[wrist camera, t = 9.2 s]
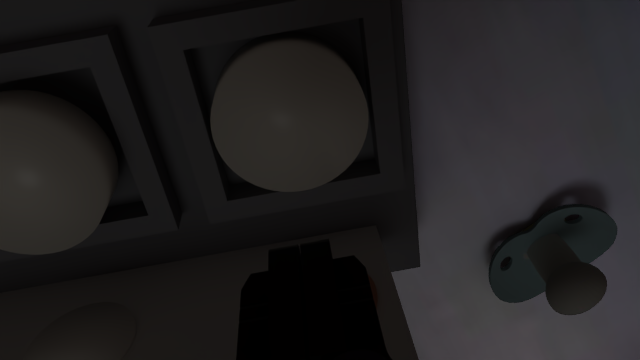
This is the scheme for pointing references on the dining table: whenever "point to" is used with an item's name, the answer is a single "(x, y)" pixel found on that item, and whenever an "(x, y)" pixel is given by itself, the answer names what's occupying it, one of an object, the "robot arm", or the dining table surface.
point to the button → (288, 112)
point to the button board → (197, 176)
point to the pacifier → (556, 260)
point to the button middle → (51, 173)
